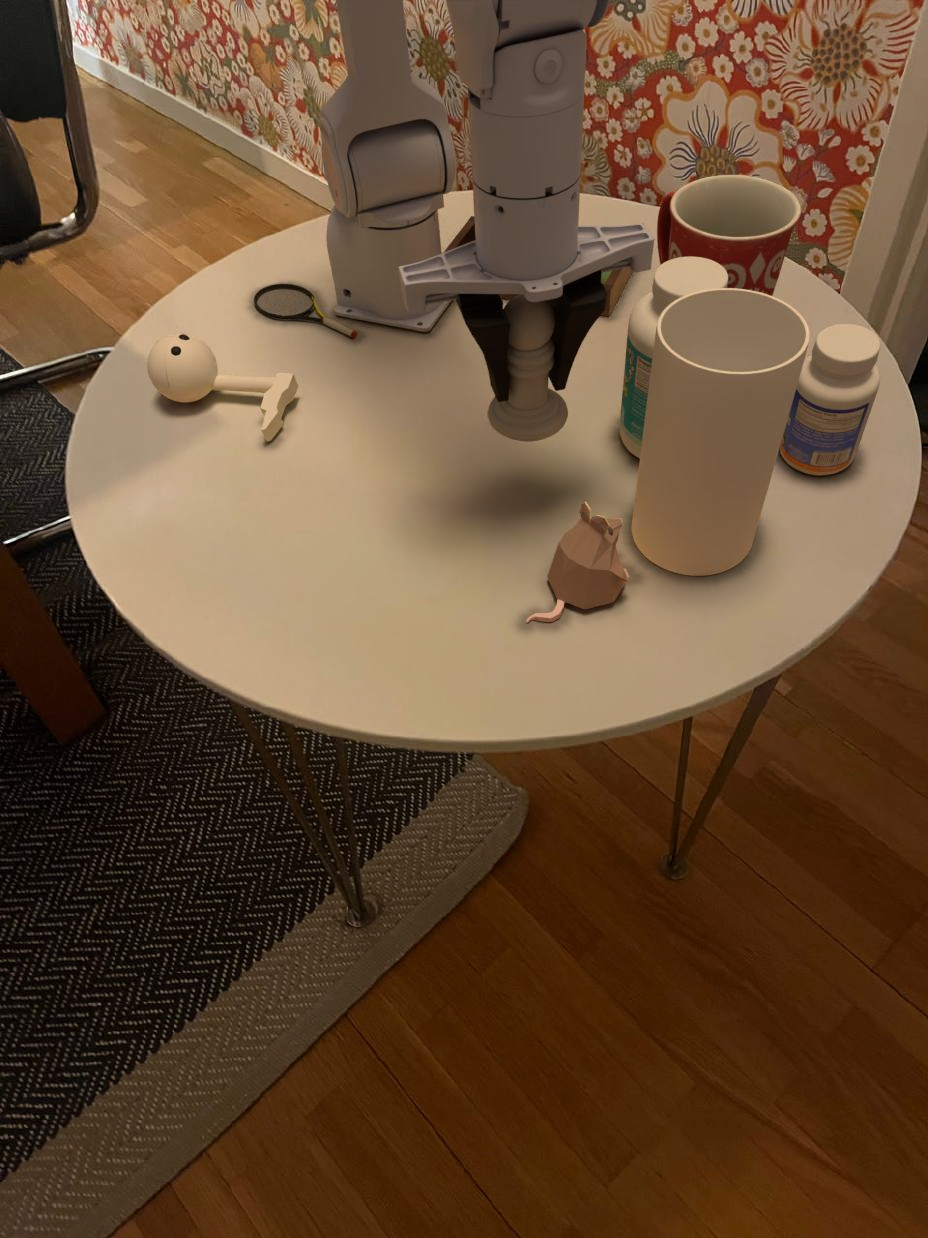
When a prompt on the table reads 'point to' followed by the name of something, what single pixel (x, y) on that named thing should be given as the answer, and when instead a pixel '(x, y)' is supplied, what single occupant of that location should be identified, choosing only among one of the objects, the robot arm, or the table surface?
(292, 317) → the tennis racket
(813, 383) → the pill bottle
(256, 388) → the figurine
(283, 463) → the table surface
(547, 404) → the chess piece
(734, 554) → the cup
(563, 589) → the mouse figurine
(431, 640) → the table surface
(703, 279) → the pill bottle
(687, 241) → the mug
